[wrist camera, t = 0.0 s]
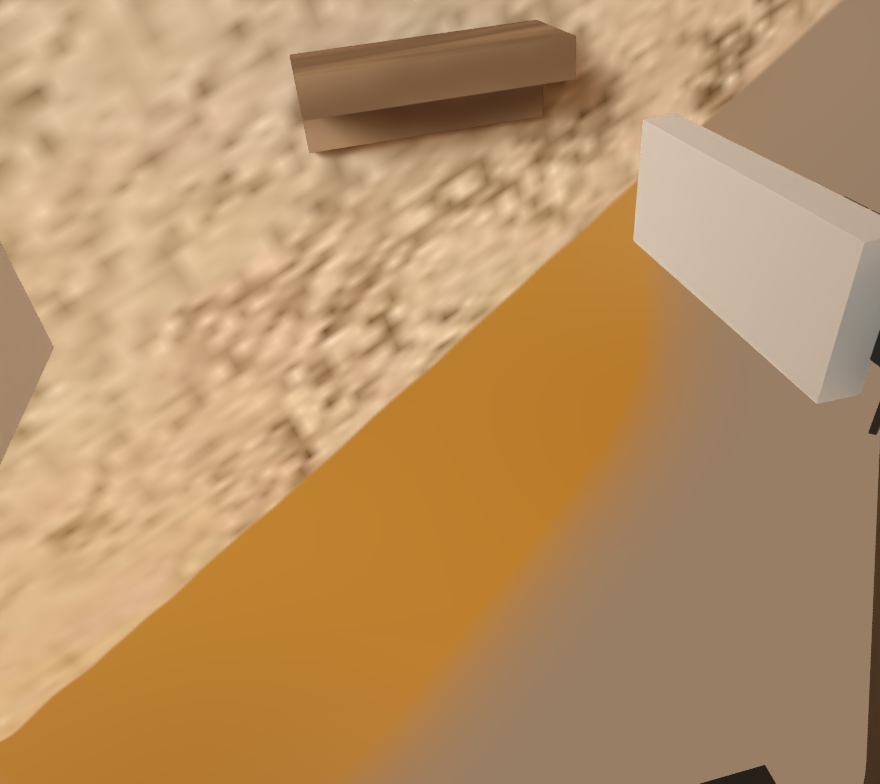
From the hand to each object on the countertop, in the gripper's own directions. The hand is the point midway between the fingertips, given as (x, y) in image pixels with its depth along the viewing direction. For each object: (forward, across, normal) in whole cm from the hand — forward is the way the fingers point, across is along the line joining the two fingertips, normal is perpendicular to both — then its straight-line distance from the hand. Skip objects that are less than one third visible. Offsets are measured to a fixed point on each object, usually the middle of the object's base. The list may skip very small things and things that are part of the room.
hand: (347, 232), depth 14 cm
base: (+28, +7, -3) cm, 29 cm away
